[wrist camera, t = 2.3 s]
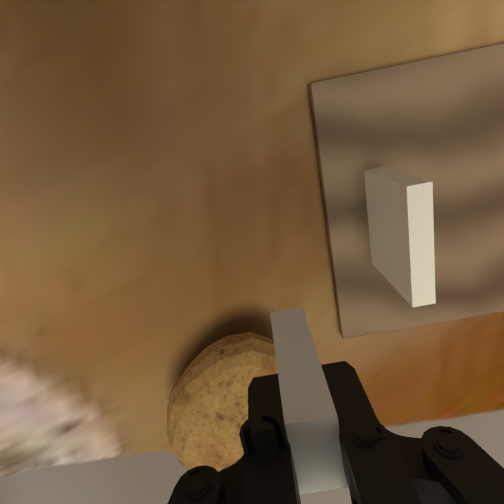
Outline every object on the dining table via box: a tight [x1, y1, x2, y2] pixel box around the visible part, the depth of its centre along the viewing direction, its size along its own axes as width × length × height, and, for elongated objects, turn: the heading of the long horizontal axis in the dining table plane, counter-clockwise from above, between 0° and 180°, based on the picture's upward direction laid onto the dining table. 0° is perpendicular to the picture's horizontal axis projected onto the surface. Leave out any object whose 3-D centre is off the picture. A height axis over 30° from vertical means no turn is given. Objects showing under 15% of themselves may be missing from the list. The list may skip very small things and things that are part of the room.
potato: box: [167, 332, 278, 472], centre depth 32 cm, size 10×14×8 cm
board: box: [308, 43, 504, 339], centre depth 30 cm, size 22×16×1 cm
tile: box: [364, 167, 436, 307], centre depth 26 cm, size 8×2×8 cm, turn 11°
